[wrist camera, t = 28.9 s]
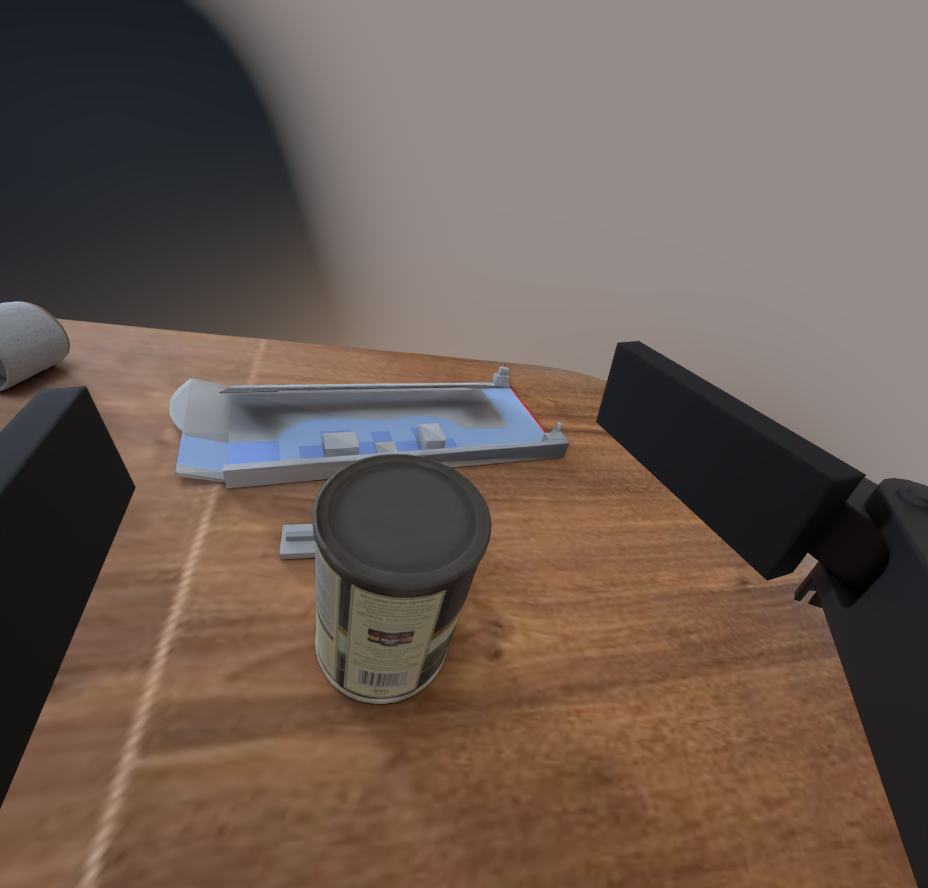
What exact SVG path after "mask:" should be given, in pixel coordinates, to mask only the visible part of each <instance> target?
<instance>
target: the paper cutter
mask: <svg viewBox="0 0 928 888" xmlns="http://www.w3.org/2000/svg"><path fill="white" fill-rule="evenodd" d="M508 371H509V369H508V368H507V367H505V368H504V367H500V369H499V372H498V373H494V376H493V380H492V383H406V384H318V385H231V388H230V387H226V386H222V385H218V384H214V383H210V382H206V381H202V380H198V379H194V378H191V379H189V380H188V381H186V382H185V383H184V384H183V385H181V386H180V387H179V388H178V389H177V390H176V392H175V393H174V395H173V396H172V398H171V401H170V406H169V410H170V415H171V418H172V420H173V422H174V423H175V424H176V426H177V427H178V428H179V429H180V430H181V431H182V437H181V443H180V449H179V454H178V460H177V466H176V472H175V476H180V477H187V478H195V479H202V480H210V481H217V482H224V483H225V485H226V489H229V488H240V487H250V486H261V485H271V484H282V483H292V482H303V481H314V480H324V479H329V478H330V477H331V476H332V475H333V474H334V473H336V472H337V471H338V470H340V469H341V468H343V467H345V466H346V465H348V464H350V463H353V462H355V461H357V460H360V459H364V458H367V457H371V456H376V455H385V454H408V455H415V456H420V457H424V458H428V459H431V460H435V461H437V462H440V463H442V464H444V465H446V466H448V467H450V468H451V467H462V466H472V465H483V464H494V463H504V462H515V461H525V460H536V459H546V458H557V457H563V456H564V454H565V452H566V450H567V447H568V445H569V442H568V441H567V440H566V437H565V436H564V435H563V433H562V432H561V431H560V430H561V428H562V426H563V425H562V424H561V423H560V422H558V423H557V426H556V428H552V431H551V433H546V432H545V430H544V429H543V428H542V427H541V425H540V424H539V423H538V421H537V420H536V419H535V418H534V416H533V415H532V414H531V412H530V411H529V410H528V408H527V407H526V406H525V405H524V403H523V402H522V401H521V399H520V398H519V397H518V396H517V394H516V393H515V392H514V390H513V389H512V387H510V385H509V383H508V380H509V375H508Z"/></svg>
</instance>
